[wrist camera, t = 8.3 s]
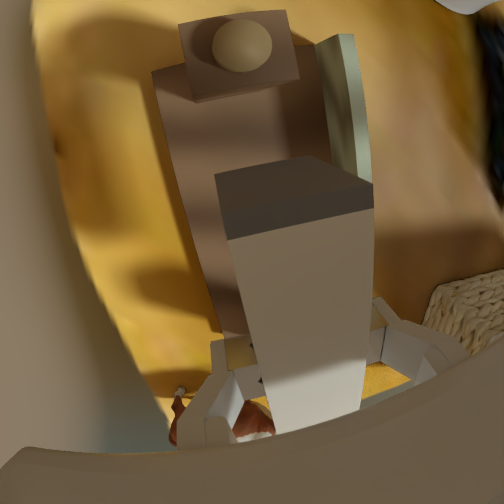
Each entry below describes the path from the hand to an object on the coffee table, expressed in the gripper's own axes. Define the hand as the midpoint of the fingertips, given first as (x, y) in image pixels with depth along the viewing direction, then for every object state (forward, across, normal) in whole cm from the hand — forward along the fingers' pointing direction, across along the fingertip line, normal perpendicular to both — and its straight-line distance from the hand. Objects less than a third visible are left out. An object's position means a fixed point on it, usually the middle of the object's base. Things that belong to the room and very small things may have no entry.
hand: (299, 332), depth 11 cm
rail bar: (+2, 0, 0) cm, 2 cm away
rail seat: (+14, -2, 0) cm, 14 cm away
